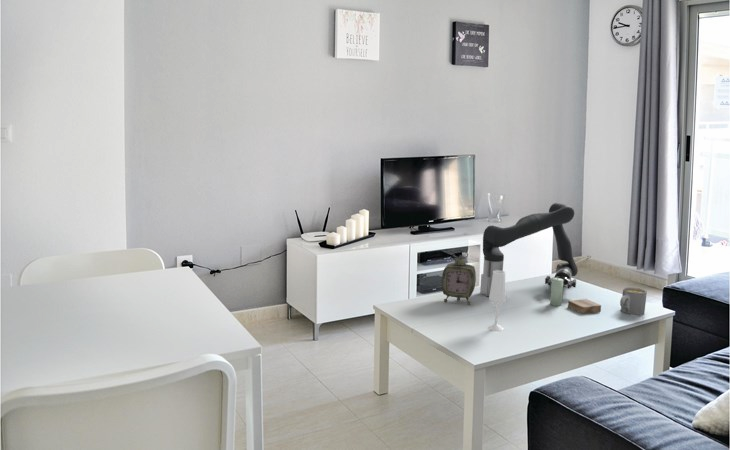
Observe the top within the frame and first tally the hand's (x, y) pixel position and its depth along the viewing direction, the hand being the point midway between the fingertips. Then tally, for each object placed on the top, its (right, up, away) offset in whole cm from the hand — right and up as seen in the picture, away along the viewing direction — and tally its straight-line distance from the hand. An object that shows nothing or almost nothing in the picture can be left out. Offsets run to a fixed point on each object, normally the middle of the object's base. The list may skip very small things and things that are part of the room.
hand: (559, 285), depth 314 cm
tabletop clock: (-49, -7, -6) cm, 50 cm away
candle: (-3, -8, -6) cm, 11 cm away
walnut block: (+8, -10, -12) cm, 18 cm away
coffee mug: (+28, -11, -14) cm, 33 cm away
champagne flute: (-38, -14, -40) cm, 57 cm away
